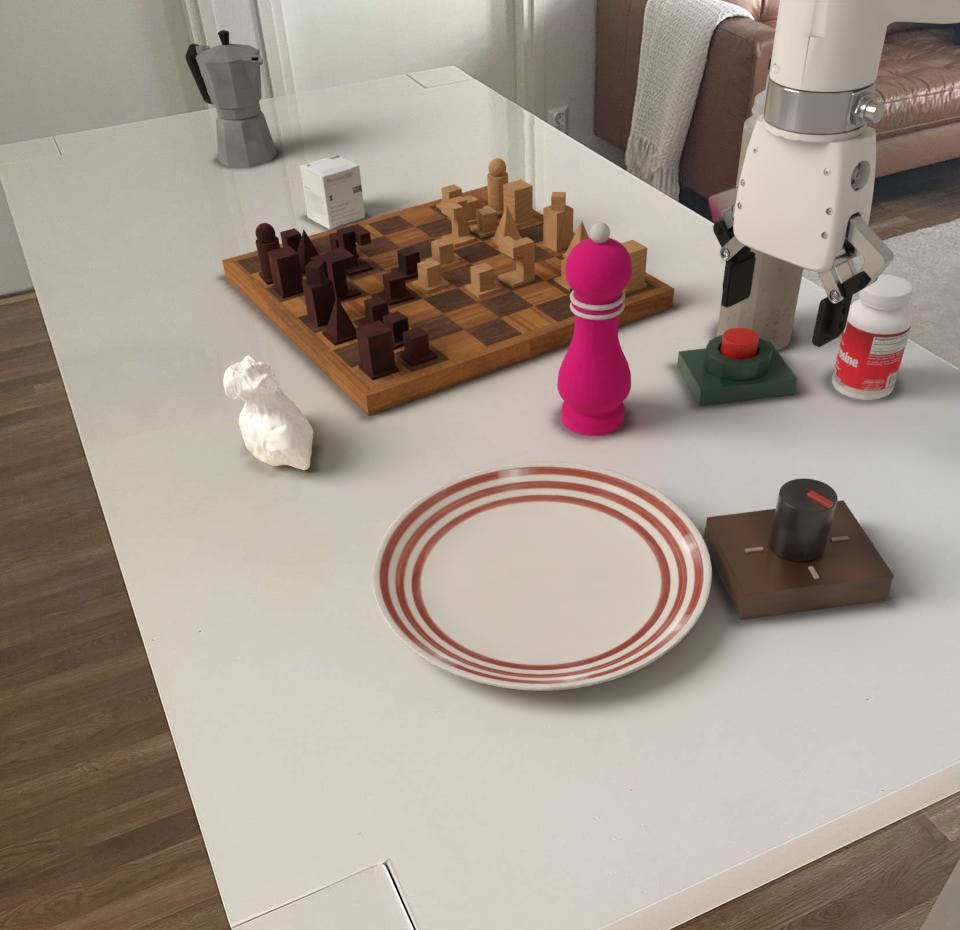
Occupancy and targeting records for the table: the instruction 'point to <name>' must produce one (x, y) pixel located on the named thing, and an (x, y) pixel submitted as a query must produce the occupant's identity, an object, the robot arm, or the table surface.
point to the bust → (268, 416)
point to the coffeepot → (233, 100)
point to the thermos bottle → (764, 276)
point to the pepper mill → (596, 336)
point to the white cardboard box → (333, 191)
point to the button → (739, 343)
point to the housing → (735, 374)
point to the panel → (794, 566)
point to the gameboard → (430, 290)
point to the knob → (802, 519)
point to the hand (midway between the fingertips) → (779, 320)
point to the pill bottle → (874, 339)
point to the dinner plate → (542, 576)
